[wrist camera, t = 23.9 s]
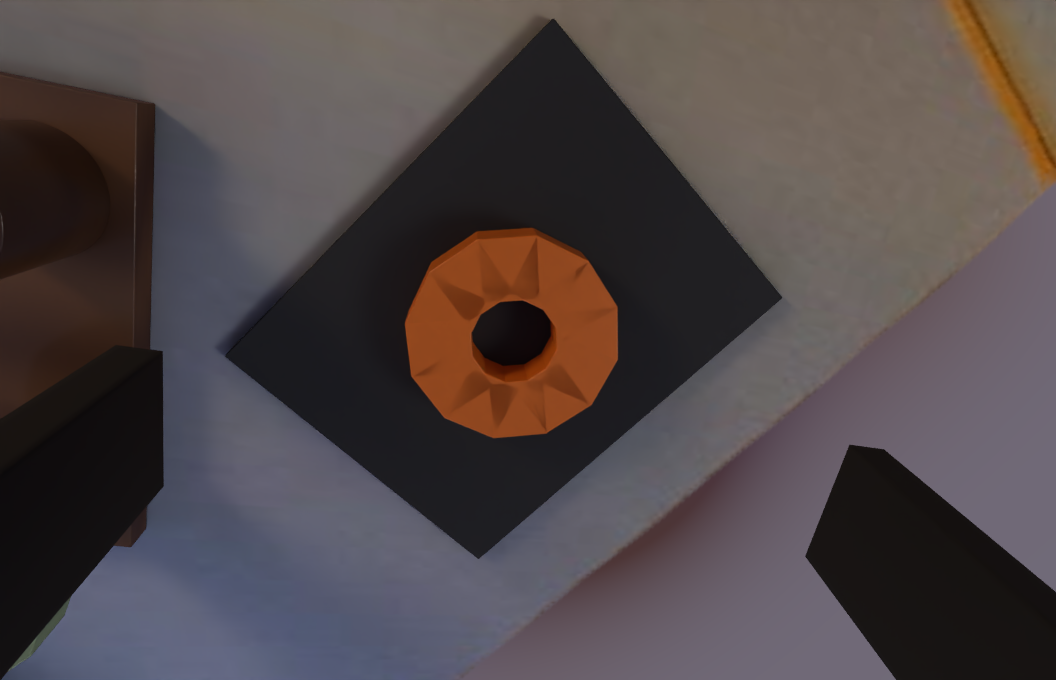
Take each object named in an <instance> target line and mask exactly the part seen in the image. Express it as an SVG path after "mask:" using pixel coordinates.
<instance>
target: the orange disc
mask: <svg viewBox="0 0 1056 680" xmlns="http://www.w3.org/2000/svg"><path fill="white" fill-rule="evenodd" d="M522 300H523V301H525V302H527V303H530V304H532V305H534V306H536V307H538V308H540V309H542V310H544V312H545V313H546V315H547V316H548V318H549V319H550V326H551V336H550V338H549V340H548V342H547V344H546V345H545V347H544V349H543V351H542V353H541V354H540V355H538V356H536V357H535V358H533V359H532V360H530V361H529V362H527V363H526V364H520V365H507V366H502V365H500V364H498V363H495V362H493V361H491V360H489V359H486V358H484V356H483V355H482V354H481V352H480V351H479V350H478V348H477V347H476V345H475V344H474V343H473V340H472V331H473V329H474V327H475V325H476V323H477V321H478V319H479V317H480V315H481V314H483V313H484V312H486V311H487V310H489V309H490V308H492V307H493V306H495V305H496V304H498V303H499V302H508V301H522ZM405 330H406V338H407V346H408V354H409V362H410V370H411V377H412V378H413V379H414V380H415V382H416V383H417V384H418V385H419V387H420V388H421V389H422V390H423V392H424V393H425V394H426V396H427V397H428V398H429V399H430V401H431V402H432V403H433V404H434V406H435V407H436V408H437V409H438V411H439V412H440V413H441V414H442V416H443V417H444V418H446V419H448V420H451V421H453V422H455V423H458V424H460V425H463V426H465V427H468V428H470V429H472V430H475V431H477V432H480V433H482V434H485V435H487V436H489V437H492V438H502V437H513V436H524V435H536V434H547V432H549V431H551V430H552V429H554V428H555V427H557V426H559V425H560V424H562V423H563V422H565V421H567V420H568V419H570V418H572V417H573V416H575V415H576V414H578V413H580V412H581V411H583V410H584V409H586V408H588V407H589V406H591V405H592V404H593V402H594V400H595V398H596V397H597V395H598V393H599V391H600V390H601V388H602V386H603V384H604V383H605V381H606V379H607V378H608V376H609V374H610V372H611V371H612V369H613V367H614V365H615V364H616V362H617V360H618V307H617V305H616V304H615V302H614V300H613V299H612V297H611V296H610V294H609V292H608V291H607V289H606V288H605V286H604V284H603V283H602V281H601V280H600V278H599V276H598V275H597V273H596V272H595V270H594V268H593V267H592V265H591V264H590V262H589V261H588V259H587V258H586V257H585V256H584V255H583V254H582V252H580V251H578V250H576V249H574V248H572V247H570V246H568V245H566V244H564V243H562V242H560V241H558V240H556V239H554V238H552V237H550V236H548V235H546V234H544V233H542V232H540V231H538V230H536V229H534V228H521V229H505V230H490V231H477V232H475V233H474V234H472V235H471V236H469V237H468V238H466V239H465V240H464V241H462V242H461V243H459V244H458V245H456V246H455V247H453V248H452V249H450V250H449V251H447V252H446V253H444V254H443V255H441V256H440V257H438V258H437V259H435V260H434V261H432V262H431V264H430V266H429V268H428V270H427V272H426V275H425V277H424V279H423V281H422V283H421V285H420V287H419V290H418V292H417V294H416V296H415V298H414V300H413V302H412V305H411V307H410V309H409V311H408V315H407V318H406V321H405Z"/></svg>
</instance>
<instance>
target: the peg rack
mask: <svg viewBox="0 0 1056 680" xmlns="http://www.w3.org/2000/svg"><path fill="white" fill-rule="evenodd" d="M154 133H155V104H154V103H149V102H144V101H140V100H135V99H130V98H125V97H120V96H115V95H110V94H106V93H101V92H96V91H91V90H86V89H81V88H77V87H72V86H67V85H62V84H57V83H52V82H47V81H43V80H38V79H33V78H28V77H23V76H18V75H14V74H9V73H4V72H0V419H1V418H3V417H4V416H6V415H7V414H9V413H10V412H12V411H14V410H15V409H17V408H18V407H20V406H21V405H23V404H24V403H26V402H28V401H29V400H31V399H32V398H34V397H35V396H37V395H39V394H40V393H42V392H43V391H45V390H46V389H48V388H49V387H51V386H53V385H54V384H56V383H57V382H59V381H60V380H62V379H63V378H65V377H67V376H68V375H70V374H71V373H73V372H74V371H76V370H77V369H79V368H81V367H82V366H84V365H85V364H87V363H88V362H90V361H91V360H93V359H95V358H96V357H98V356H99V355H101V354H102V353H104V352H106V351H107V350H109V349H110V348H112V347H113V346H115V345H120V346H127V347H135V348H142V349H149V350H150V322H151V275H152V228H153V180H154ZM146 512H147V506H146V508H145V509H144V510H143V511H142V512H141V514H140V515H139V516H138V517H137V518H136V520H135V521H134V522H133V523H132V524H131V525H130V527H129V528H128V529H127V530H126V531H125V533H124V534H123V535H122V536H121V537H120V539H119V540H118V541H117V542H116V543H115V544H114V546H123V547H132V545H133V544H134V543H135V542H136V540H137V539H138V538H139V537H140V535H141V534H142V533H143V532H144V530H145V529H146Z"/></svg>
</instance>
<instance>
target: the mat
mask: <svg viewBox="0 0 1056 680" xmlns="http://www.w3.org/2000/svg"><path fill="white" fill-rule="evenodd" d="M521 228H534V229H536V230H538V231H540V232H542V233H544V234H546V235H548V236H550V237H552V238H554V239H556V240H558V241H560V242H562V243H564V244H566V245H568V246H570V247H572V248H574V249H576V250H578V251H580V252H582V254H583V255H584V256H585V257H586V258H587V259H588V261H589V262H590V264H591V265H592V267H593V268H594V270H595V272H596V273H597V275H598V276H599V278H600V280H601V281H602V283H603V284H604V286H605V288H606V289H607V291H608V292H609V294H610V296H611V297H612V299H613V300H614V302H615V304H616V305H617V307H618V360H617V362H616V364H615V365H614V367H613V369H612V371H611V372H610V374H609V376H608V378H607V379H606V381H605V383H604V384H603V386H602V388H601V390H600V391H599V393H598V395H597V397H596V398H595V400H594V402H593V404H592V405H591V406H589V407H588V408H586V409H584V410H583V411H581V412H580V413H578V414H576V415H575V416H573V417H572V418H570V419H568V420H567V421H565V422H563V423H562V424H560V425H559V426H557V427H555V428H554V429H552V430H551V431H549V432H547V434H536V435H524V436H513V437H502V438H492V437H489V436H487V435H485V434H482V433H480V432H477V431H475V430H472V429H470V428H468V427H465V426H463V425H460V424H458V423H455V422H453V421H451V420H448V419H446V418H444V417H443V416H442V414H441V413H440V412H439V411H438V409H437V408H436V407H435V406H434V404H433V403H432V402H431V401H430V399H429V398H428V397H427V396H426V394H425V393H424V392H423V390H422V389H421V388H420V387H419V385H418V384H417V383H416V382H415V380H414V379H413V378H412V377H411V370H410V362H409V354H408V346H407V338H406V330H405V321H406V318H407V315H408V311H409V309H410V307H411V305H412V302H413V300H414V298H415V296H416V294H417V292H418V290H419V287H420V285H421V283H422V281H423V279H424V277H425V275H426V272H427V270H428V268H429V266H430V264H431V262H432V261H434V260H435V259H437V258H438V257H440V256H441V255H443V254H444V253H446V252H447V251H449V250H450V249H452V248H453V247H455V246H456V245H458V244H459V243H461V242H462V241H464V240H465V239H466V238H468V237H469V236H471V235H472V234H474V233H475V232H477V231H490V230H505V229H521ZM780 299H782V297H781V296H780V294H779V293H778V292H777V291H776V289H775V288H774V287H773V286H772V285H771V283H770V282H769V281H768V280H767V278H766V277H765V276H764V275H763V274H762V272H761V271H760V270H759V269H758V267H757V266H756V265H755V264H754V263H753V261H752V260H751V259H750V258H749V256H748V255H747V254H746V253H745V252H744V250H743V249H742V248H741V247H740V245H739V244H738V243H737V242H736V241H735V239H734V238H733V237H732V236H731V234H730V233H729V232H728V231H727V230H726V228H725V227H724V226H723V225H722V223H721V222H720V221H719V220H718V219H717V217H716V216H715V215H714V214H713V212H712V211H711V210H710V209H709V208H708V206H707V205H706V204H705V203H704V202H703V200H702V199H701V198H700V197H699V195H698V194H697V193H696V192H695V191H694V189H693V188H692V187H691V186H690V184H689V183H688V182H687V181H686V180H685V178H684V177H683V176H682V175H681V173H680V172H679V171H678V170H677V169H676V167H675V166H674V165H673V164H672V162H671V161H670V160H669V159H668V158H667V156H666V155H665V154H664V153H663V151H662V150H661V149H660V148H659V147H658V145H657V144H656V143H655V142H654V140H653V139H652V138H651V137H650V136H649V134H648V133H647V132H646V131H645V129H644V128H643V127H642V126H641V125H640V123H639V122H638V121H637V120H636V118H635V117H634V116H633V115H632V114H631V112H630V111H629V110H628V109H627V107H626V106H625V105H624V104H623V103H622V101H621V100H620V99H619V98H618V96H617V95H616V94H615V93H614V92H613V90H612V89H611V88H610V87H609V85H608V84H607V83H606V82H605V81H604V79H603V78H602V77H601V76H600V75H599V73H598V72H597V71H596V70H595V68H594V67H593V66H592V65H591V64H590V62H589V61H588V60H587V59H586V57H585V56H584V55H583V54H582V53H581V51H580V50H579V49H578V48H577V46H576V45H575V44H574V43H573V42H572V40H571V39H570V38H569V37H568V35H567V34H566V33H565V32H564V31H563V29H562V28H561V27H560V26H559V24H558V23H557V22H556V21H555V20H554V19H552V20H551V21H550V22H549V23H548V24H547V25H546V26H545V27H544V28H543V29H542V30H541V31H540V32H539V33H538V34H537V35H536V36H535V37H534V38H533V39H532V40H531V41H530V42H529V43H528V44H527V45H526V46H525V48H524V49H523V50H522V51H521V52H520V53H519V54H518V55H517V56H516V57H515V58H514V59H513V60H512V61H511V62H510V63H509V64H508V65H507V66H506V67H505V68H504V69H503V70H502V71H501V72H500V73H499V74H498V75H497V76H496V77H495V78H494V79H493V80H492V81H491V82H490V84H489V85H488V86H487V87H486V88H485V89H484V90H483V91H482V92H481V93H480V94H479V95H478V96H477V97H476V98H475V99H474V100H473V101H472V102H471V103H470V104H469V105H468V106H467V107H466V108H465V109H464V110H463V111H462V112H461V113H460V114H459V115H458V116H457V117H456V119H455V120H454V121H453V122H452V123H451V124H450V125H449V126H448V127H447V128H446V129H445V130H444V131H443V132H442V133H441V134H440V135H439V136H438V137H437V138H436V139H435V140H434V141H433V142H432V143H431V144H430V145H429V146H428V147H427V148H426V149H425V150H424V151H423V152H422V154H421V155H420V156H419V157H418V158H417V159H416V160H415V161H414V162H413V163H412V164H411V165H410V166H409V167H408V168H407V169H406V170H405V171H404V172H403V173H402V174H401V175H400V176H399V177H398V178H397V179H396V180H395V181H394V182H393V183H392V184H391V185H390V186H389V187H388V189H387V190H386V191H385V192H384V193H383V194H382V195H381V196H380V197H379V198H378V199H377V200H376V201H375V202H374V203H373V204H372V205H371V206H370V207H369V208H368V209H367V210H366V211H365V212H364V213H363V214H362V215H361V216H360V217H359V218H358V219H357V220H356V221H355V222H354V224H353V225H352V226H351V227H350V228H349V229H348V230H347V231H346V232H345V233H344V234H343V235H342V236H341V237H340V238H339V239H338V240H337V241H336V242H335V243H334V244H333V245H332V246H331V247H330V248H329V249H328V250H327V251H326V252H325V253H324V254H323V255H322V256H321V257H320V258H319V260H318V261H317V262H316V263H315V264H314V265H313V266H312V267H311V268H310V269H309V270H308V271H307V272H306V273H305V274H304V275H303V276H302V277H301V278H300V279H299V280H298V281H297V282H296V283H295V284H294V285H293V286H292V287H291V288H290V289H289V290H288V291H287V292H286V293H285V295H284V296H283V297H282V298H281V299H280V300H279V301H278V302H277V303H276V304H275V305H274V306H273V307H272V308H271V309H270V310H269V311H268V312H267V313H266V314H265V315H264V316H263V317H262V318H261V319H260V320H259V321H258V322H257V323H256V324H255V325H254V326H253V327H252V328H251V330H250V331H249V332H248V333H247V334H246V335H245V336H244V337H243V338H242V339H241V340H240V341H239V342H238V343H237V344H236V345H235V346H234V347H233V348H232V349H231V350H230V351H229V352H228V353H227V354H226V357H227V358H228V359H229V360H230V361H232V362H233V363H234V364H235V365H237V366H238V367H239V368H240V369H242V370H243V371H244V372H245V373H247V374H248V375H249V376H250V377H252V378H253V379H254V380H255V381H257V382H258V383H259V384H260V385H262V386H263V387H264V388H265V389H267V390H268V391H269V392H270V393H272V394H273V395H274V396H275V397H277V398H278V399H279V400H280V401H282V402H283V403H284V404H285V405H287V406H288V407H289V408H290V409H292V410H293V411H294V412H295V413H297V414H298V415H299V416H300V417H302V418H303V419H304V420H305V421H307V422H308V423H309V424H310V425H312V426H313V427H314V428H315V429H317V430H318V431H319V432H320V433H322V434H323V435H324V436H325V437H327V438H328V439H329V440H330V441H332V442H333V443H334V444H335V445H337V446H338V447H339V448H340V449H342V450H343V451H344V452H345V453H347V454H348V455H349V456H350V457H352V458H353V459H354V460H355V461H357V462H358V463H359V464H360V465H362V466H363V467H364V468H365V469H367V470H368V471H369V472H370V473H372V474H373V475H374V476H375V477H377V478H378V479H379V480H380V481H382V482H383V483H384V484H385V485H387V486H388V487H389V488H390V489H392V490H393V491H394V492H395V493H397V494H398V495H399V496H400V497H402V498H403V499H404V500H405V501H407V502H408V503H409V504H410V505H412V506H413V507H414V508H415V509H417V510H418V511H419V512H420V513H422V514H423V515H424V516H425V517H427V518H428V519H429V520H430V521H432V522H433V523H434V524H435V525H437V526H438V527H439V528H440V529H442V530H443V531H444V532H445V533H447V534H448V535H449V536H450V537H452V538H453V539H454V540H455V541H457V542H458V543H459V544H460V545H462V546H463V547H464V548H465V549H467V550H468V551H469V552H470V553H472V554H473V555H474V556H475V557H477V558H478V559H479V558H480V557H481V556H483V555H484V554H485V553H486V552H487V551H488V550H490V549H491V548H492V547H493V546H494V545H495V544H497V543H498V542H499V541H500V540H501V539H502V538H504V537H505V536H506V535H507V534H508V533H509V532H511V531H512V530H513V529H514V528H515V527H516V526H518V525H519V524H520V523H521V522H522V521H523V520H525V519H526V518H527V517H528V516H529V515H530V514H531V513H533V512H534V511H535V510H536V509H537V508H538V507H540V506H541V505H542V504H543V503H544V502H545V501H547V500H548V499H549V498H550V497H551V496H552V495H554V494H555V493H556V492H557V491H558V490H559V489H561V488H562V487H563V486H564V485H565V484H566V483H568V482H569V481H570V480H571V479H572V478H573V477H575V476H576V475H577V474H578V473H579V472H580V471H582V470H583V469H584V468H585V467H586V466H587V465H588V464H590V463H591V462H592V461H593V460H594V459H595V458H597V457H598V456H599V455H600V454H601V453H602V452H604V451H605V450H606V449H607V448H608V447H609V446H611V445H612V444H613V443H614V442H615V441H616V440H618V439H619V438H620V437H621V436H622V435H623V434H625V433H626V432H627V431H628V430H629V429H630V428H632V427H633V426H634V425H635V424H636V423H637V422H639V421H640V420H641V419H642V418H643V417H644V416H646V415H647V414H648V413H649V412H650V411H651V410H652V409H654V408H655V407H656V406H657V405H658V404H659V403H661V402H662V401H663V400H664V399H665V398H666V397H668V396H669V395H670V394H671V393H672V392H673V391H675V390H676V389H677V388H678V387H679V386H680V385H682V384H683V383H684V382H685V381H686V380H687V379H689V378H690V377H691V376H692V375H693V374H694V373H696V372H697V371H698V370H699V369H700V368H701V367H703V366H704V365H705V364H706V363H707V362H708V361H709V360H711V359H712V358H713V357H714V356H715V355H716V354H718V353H719V352H720V351H721V350H722V349H723V348H725V347H726V346H727V345H728V344H729V343H730V342H732V341H733V340H734V339H735V338H736V337H737V336H739V335H740V334H741V333H742V332H743V331H744V330H746V329H747V328H748V327H749V326H750V325H751V324H753V323H754V322H755V321H756V320H757V319H758V318H760V317H761V316H762V315H763V314H764V313H765V312H766V311H768V310H769V309H770V308H771V307H772V306H773V305H775V304H776V303H777V302H778V301H779V300H780ZM550 336H551V326H550V319H549V318H548V316H547V315H546V313H545V312H544V310H542V309H540V308H538V307H536V306H534V305H532V304H530V303H527V302H525V301H523V300H522V301H508V302H499V303H498V304H496V305H495V306H493V307H492V308H490V309H489V310H487V311H486V312H484V313H483V314H481V315H480V317H479V319H478V321H477V323H476V325H475V327H474V329H473V331H472V340H473V343H474V344H475V345H476V347H477V348H478V350H479V351H480V352H481V354H482V355H483V356H484V358H486V359H489V360H491V361H493V362H495V363H498V364H500V365H502V366H507V365H520V364H526V363H527V362H529V361H530V360H532V359H533V358H535V357H536V356H538V355H540V354H541V353H542V351H543V349H544V347H545V345H546V344H547V342H548V340H549V338H550Z"/></svg>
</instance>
